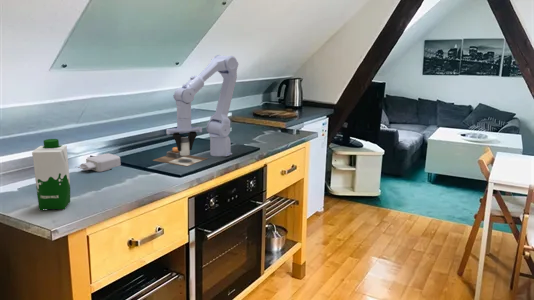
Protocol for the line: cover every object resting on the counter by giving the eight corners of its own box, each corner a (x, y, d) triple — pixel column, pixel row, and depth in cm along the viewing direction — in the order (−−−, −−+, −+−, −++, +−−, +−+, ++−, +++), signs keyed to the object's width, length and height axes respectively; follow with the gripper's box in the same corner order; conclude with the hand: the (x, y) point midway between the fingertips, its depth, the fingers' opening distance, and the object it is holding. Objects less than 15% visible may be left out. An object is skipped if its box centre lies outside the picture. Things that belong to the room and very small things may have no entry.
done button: (175, 151, 193) (175, 146, 193) (181, 152, 192) (181, 147, 191) (171, 152, 191) (171, 148, 190) (177, 153, 189) (176, 149, 189)
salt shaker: (183, 152, 186) (183, 136, 184) (191, 154, 184) (191, 137, 182) (177, 154, 182) (177, 138, 180) (185, 156, 180) (185, 139, 178)
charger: (72, 171, 169) (106, 163, 181) (86, 176, 164) (120, 167, 176) (71, 159, 168) (106, 152, 180) (85, 164, 163) (120, 156, 174)
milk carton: (74, 200, 139) (68, 138, 134) (66, 210, 130) (60, 145, 125) (44, 201, 137) (37, 138, 132) (34, 212, 129) (27, 145, 124)
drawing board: (175, 154, 197) (175, 148, 196) (208, 160, 189) (208, 153, 188) (152, 162, 184) (151, 155, 183) (186, 168, 176) (186, 161, 175)
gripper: (198, 115, 186) (198, 146, 189) (163, 117, 179) (164, 149, 183) (203, 117, 180) (203, 150, 183) (168, 119, 173) (169, 153, 176)
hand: (184, 150), depth 182 cm, fingers closed on salt shaker, 4 cm apart
